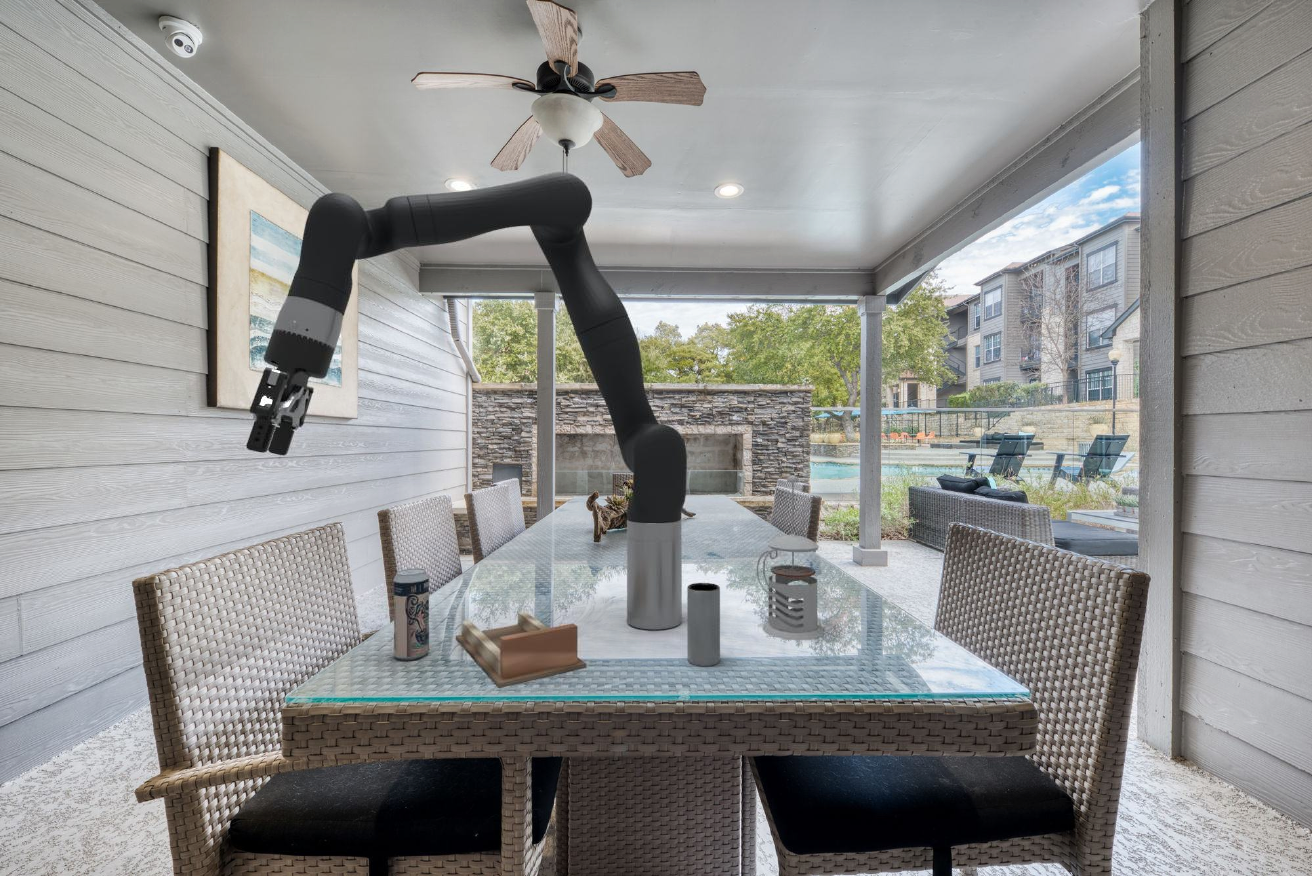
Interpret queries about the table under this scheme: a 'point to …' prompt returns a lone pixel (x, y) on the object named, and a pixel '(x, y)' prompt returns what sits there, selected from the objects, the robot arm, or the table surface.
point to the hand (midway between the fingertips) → (267, 452)
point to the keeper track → (522, 650)
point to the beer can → (411, 614)
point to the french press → (792, 589)
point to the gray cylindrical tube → (703, 624)
